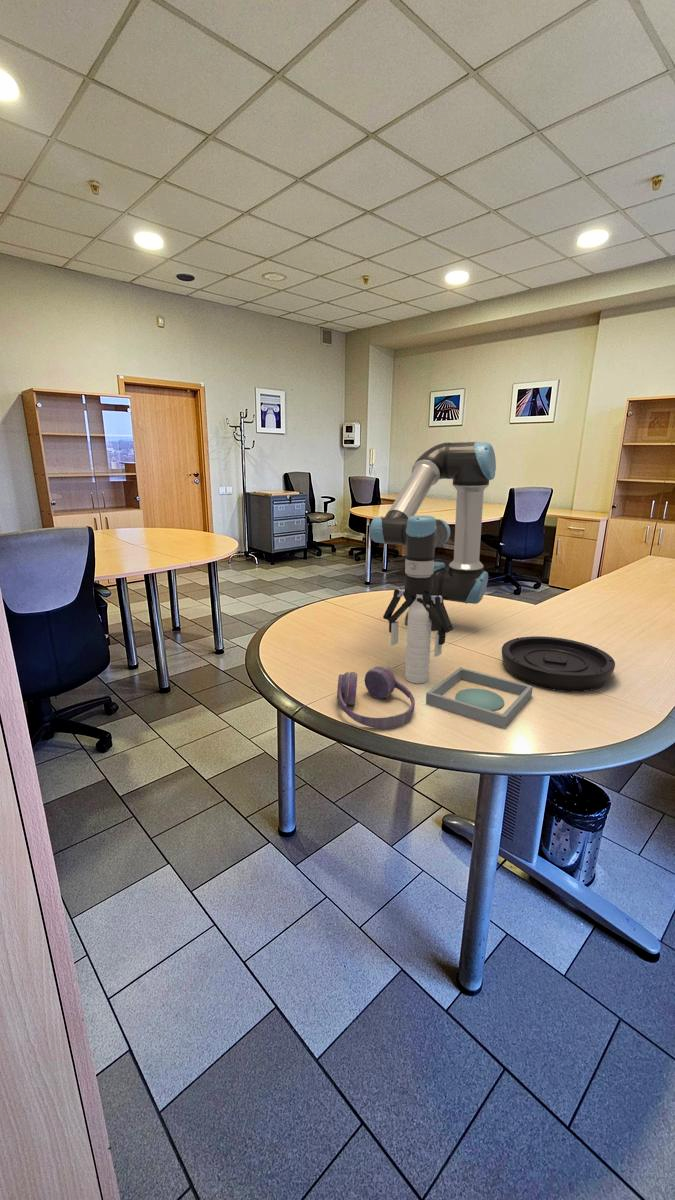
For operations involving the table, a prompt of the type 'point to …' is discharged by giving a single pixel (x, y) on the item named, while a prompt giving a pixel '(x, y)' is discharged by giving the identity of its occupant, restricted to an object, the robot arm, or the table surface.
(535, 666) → the round tray
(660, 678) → the table surface
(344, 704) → the headphones
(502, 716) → the teal-dotted square tray
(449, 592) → the robot arm
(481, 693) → the teal round pad
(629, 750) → the table surface
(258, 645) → the table surface
